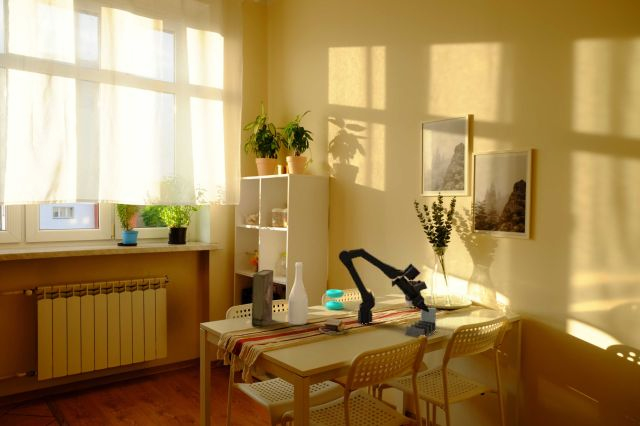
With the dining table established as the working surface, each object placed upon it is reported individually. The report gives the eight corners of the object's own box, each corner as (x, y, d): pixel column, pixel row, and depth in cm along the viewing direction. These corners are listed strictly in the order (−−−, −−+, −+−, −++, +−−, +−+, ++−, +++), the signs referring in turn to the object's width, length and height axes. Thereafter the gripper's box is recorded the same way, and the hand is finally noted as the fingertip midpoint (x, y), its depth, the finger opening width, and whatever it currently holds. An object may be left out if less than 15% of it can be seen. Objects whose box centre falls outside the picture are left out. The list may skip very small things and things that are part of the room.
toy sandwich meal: (314, 333, 235) (315, 323, 235) (325, 326, 247) (325, 317, 247) (340, 337, 230) (340, 326, 230) (349, 330, 243) (350, 320, 242)
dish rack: (405, 335, 236) (405, 326, 236) (418, 327, 249) (418, 319, 249) (423, 338, 231) (424, 329, 231) (436, 331, 245) (436, 322, 245)
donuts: (345, 289, 291) (341, 292, 282) (345, 307, 292) (340, 310, 282) (328, 288, 294) (324, 291, 285) (328, 305, 294) (323, 309, 285)
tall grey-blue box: (421, 326, 253) (421, 308, 252) (420, 325, 256) (420, 307, 255) (435, 327, 252) (436, 309, 252) (434, 325, 255) (435, 307, 255)
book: (262, 318, 259) (263, 269, 259) (272, 319, 258) (274, 270, 257) (251, 326, 243) (253, 274, 242) (262, 327, 242) (264, 274, 241)
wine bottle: (304, 326, 247) (306, 264, 246) (285, 324, 248) (287, 263, 248) (308, 321, 256) (310, 262, 255) (290, 320, 258) (292, 261, 257)
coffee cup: (415, 309, 290) (416, 283, 290) (400, 307, 296) (401, 281, 296) (423, 307, 298) (424, 281, 298) (408, 304, 304) (409, 279, 304)
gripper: (419, 278, 244) (442, 302, 244) (415, 273, 263) (436, 295, 262) (402, 294, 245) (425, 318, 244) (399, 287, 264) (420, 309, 263)
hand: (427, 309), depth 254 cm, fingers open, 9 cm apart
